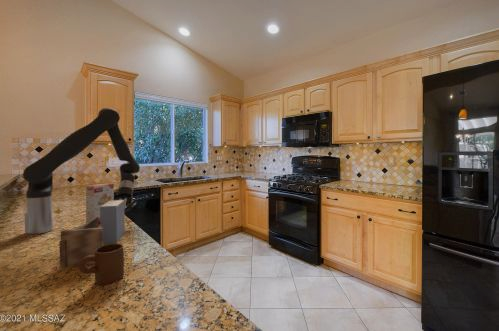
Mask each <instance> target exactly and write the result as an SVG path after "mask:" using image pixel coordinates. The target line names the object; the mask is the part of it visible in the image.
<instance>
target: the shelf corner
mask: <svg viewBox="0 0 499 331" xmlns="http://www.w3.org/2000/svg"><path fill="white" fill-rule="evenodd" d="M58 243H59V244H58V245H59V268H60V269H66V268H68V267H73V266H75V267H76V266H78V264H79V262H80V261H81V259H83V258H84V257H86V256H89V255H91V256H95V250H96V249H97V248H99V247H101V246H104V244H103V227H102V228H101V227H99V223H98V217H94V218H92V219H91V220H89V221H88V222H87V223H86V222H85V223H83V224H82V225H81V226H80V227H78V228H76V229H65V230H64V229H63V230H61V231H60V241H59V242H58ZM91 264H94V265H95V261H87V262H86V263H85V265H91Z"/></svg>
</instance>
